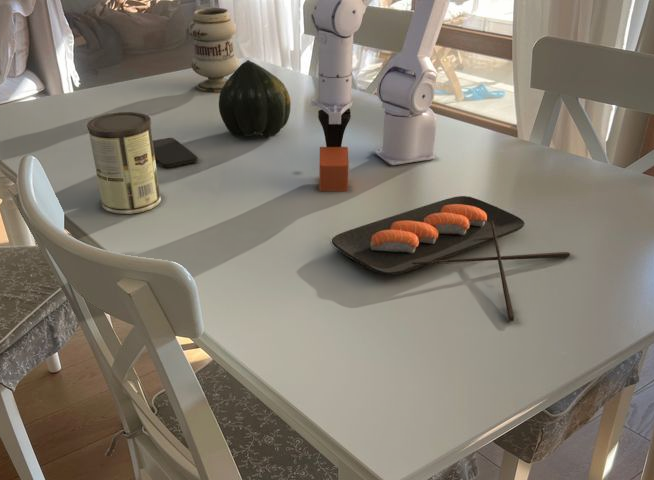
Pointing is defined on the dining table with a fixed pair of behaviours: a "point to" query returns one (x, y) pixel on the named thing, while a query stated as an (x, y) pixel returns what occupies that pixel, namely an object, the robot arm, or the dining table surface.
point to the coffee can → (125, 162)
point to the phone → (172, 153)
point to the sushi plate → (433, 237)
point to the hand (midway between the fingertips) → (333, 152)
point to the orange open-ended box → (333, 169)
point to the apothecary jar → (213, 47)
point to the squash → (254, 102)
